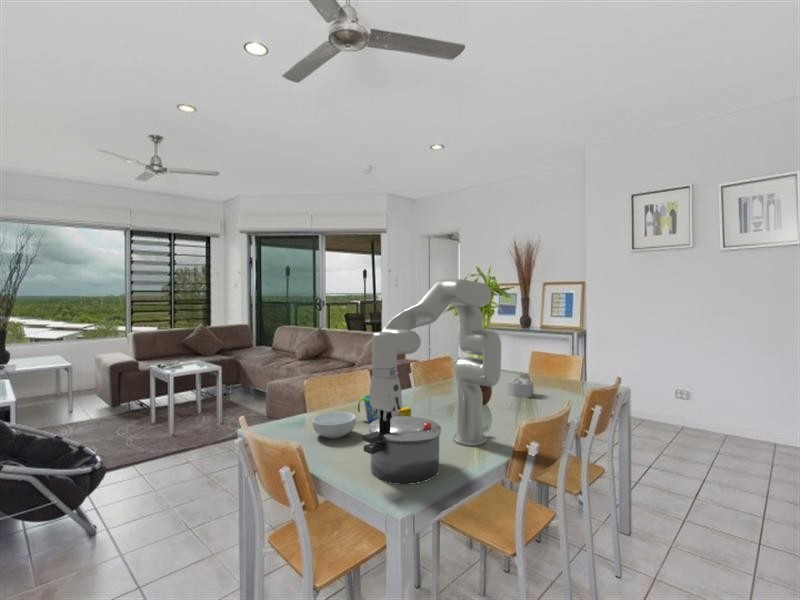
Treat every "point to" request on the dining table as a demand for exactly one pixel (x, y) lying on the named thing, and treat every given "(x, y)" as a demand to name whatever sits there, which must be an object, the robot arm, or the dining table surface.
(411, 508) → the dining table surface
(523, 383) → the lumpy-topped squat cylinder
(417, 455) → the cooker
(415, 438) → the lid
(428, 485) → the dining table surface
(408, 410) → the supplement box
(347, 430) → the cereal bowl
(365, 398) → the snack cup
